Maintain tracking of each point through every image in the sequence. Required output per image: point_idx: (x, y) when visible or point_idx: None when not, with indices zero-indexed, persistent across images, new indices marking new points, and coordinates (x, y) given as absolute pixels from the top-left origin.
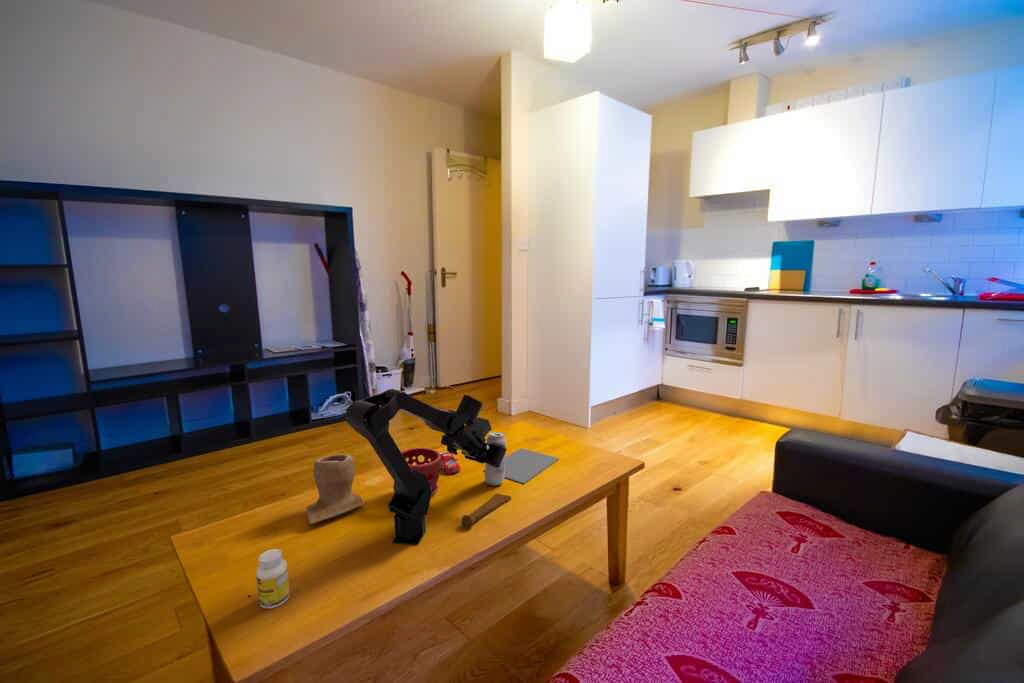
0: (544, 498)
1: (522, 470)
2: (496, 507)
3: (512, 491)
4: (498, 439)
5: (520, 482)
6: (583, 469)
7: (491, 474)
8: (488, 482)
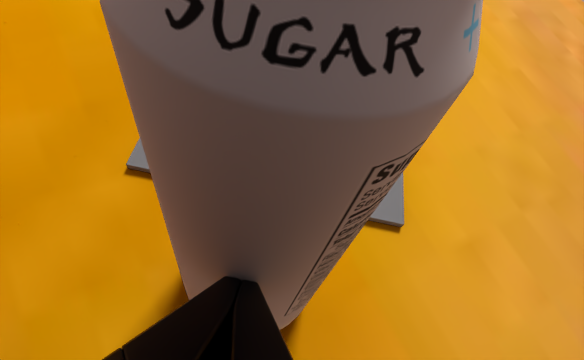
0: (573, 328)
1: None
2: None
3: (396, 330)
4: (456, 21)
5: (381, 221)
6: (506, 55)
7: None
8: None
